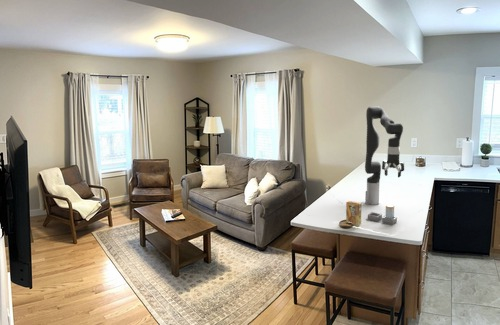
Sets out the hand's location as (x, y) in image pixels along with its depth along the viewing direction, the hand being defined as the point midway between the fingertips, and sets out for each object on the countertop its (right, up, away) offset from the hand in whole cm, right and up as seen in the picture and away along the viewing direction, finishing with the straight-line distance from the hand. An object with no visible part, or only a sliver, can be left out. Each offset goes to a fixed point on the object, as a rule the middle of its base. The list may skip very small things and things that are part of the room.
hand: (392, 176), depth 237 cm
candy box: (-30, -32, -11) cm, 45 cm away
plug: (-6, -30, -10) cm, 32 cm away
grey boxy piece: (-10, -30, -7) cm, 32 cm away
